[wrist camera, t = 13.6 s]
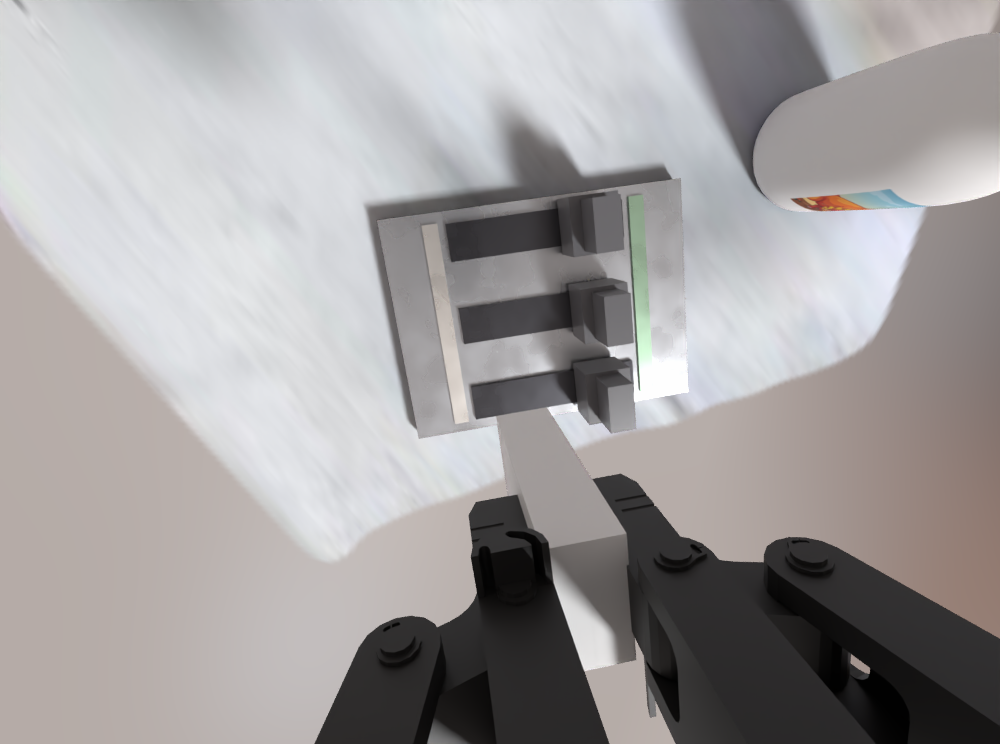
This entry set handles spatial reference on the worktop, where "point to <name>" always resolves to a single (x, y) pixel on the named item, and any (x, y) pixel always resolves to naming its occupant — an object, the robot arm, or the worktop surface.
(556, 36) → the worktop surface
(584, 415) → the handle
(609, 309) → the handle mid
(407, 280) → the panel
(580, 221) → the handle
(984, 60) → the milk bottle
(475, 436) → the worktop surface
